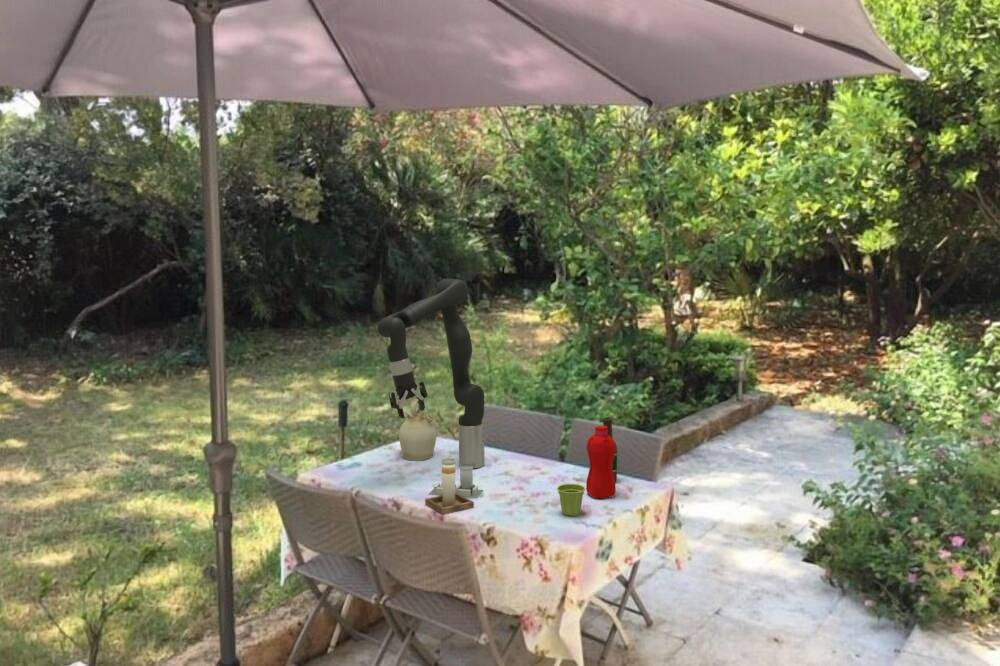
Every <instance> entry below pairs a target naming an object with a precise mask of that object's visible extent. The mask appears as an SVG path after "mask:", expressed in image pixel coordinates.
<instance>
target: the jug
mask: <svg viewBox="0 0 1000 666" xmlns="http://www.w3.org/2000/svg"><path fill="white" fill-rule="evenodd" d="M418 401H419V400H418V399H417V398H416V397H414V398H413V400H412V402H411V403H410V408H409V409H410V411H409V412H410V414H411V415H412V416H410V414H408V413H407V412H404V411H403V412H404V416H405V418H402V419H403V420H404V422H403V423H402V424H401V426H400V428H399V430H398V431H399V432H398V439H399V445H400V449H401V453H402V458H403V459H404V458H405V459H404V460H406V459H407V460H408V461H413V460H419V461H426V460H425V459H427V460H429V459H431V458H433V456H434V455H433V454H434V451H435V447H436V443H437V441H436V440H437V429H436V426H435V425H434V423H433V421H434V420H435V417H434V416H433V415H432V414H430V413H426V414H425V417H424V416H422V414H423V412H424V410H423V411H421V410H420V408H419V406H418V408H417V405H418ZM428 458H429V459H428Z"/></svg>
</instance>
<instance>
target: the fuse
mask: <svg viewBox="0 0 1000 666" xmlns="http://www.w3.org/2000/svg"><path fill="white" fill-rule="evenodd" d="M473 470H474V469H473V465H471V464H462V465H460V466H459V477H460V478H459V479H460V480H459V483H460V484H459V485H460V489H466V490H471V494H472V489H473V484H474V483H473V482H474V481H473V480H474V479H473V476H474V475H473Z"/></svg>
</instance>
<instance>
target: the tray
mask: <svg viewBox="0 0 1000 666" xmlns="http://www.w3.org/2000/svg"><path fill="white" fill-rule="evenodd" d="M455 501H456V505H453V506H448V507H443V502H442V495H441V496H438V495H435V496H432V497H429V498H428V497H427V498H425V499H424V502H425V503H424V505H425V506H427V508H430V509H432V510H434V511H435V512H436V513H438V514H440V515H442V516H443V515H447V514H448V515H449V514H454V513H458V512H462V511H466V510H470V509H473V508H475V507H474V506H475V503H474V501H473V500H471V499H470V498H465V497H464V496H462V495H460V494H458V493H456V492H455Z"/></svg>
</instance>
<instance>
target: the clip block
mask: <svg viewBox="0 0 1000 666" xmlns="http://www.w3.org/2000/svg"><path fill="white" fill-rule="evenodd" d="M441 485H442V482H441V483H439V482H438V483H437V482H436V484H435V485H434V486H433V489H432V490H431V491H430V492H429V493H428V494H427V495H428V496H441V495H442V486H441ZM483 491H484V489H479V486H478V485H476V484H475V483H473V489H472V494H471V490H466V489H460V484H458V485H457V484H456V483H455V492H456V493H458V494H460V495H462V496H464V497H465V498H467V499H478V498H479V497H480V495H481V494H482V493H483Z"/></svg>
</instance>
